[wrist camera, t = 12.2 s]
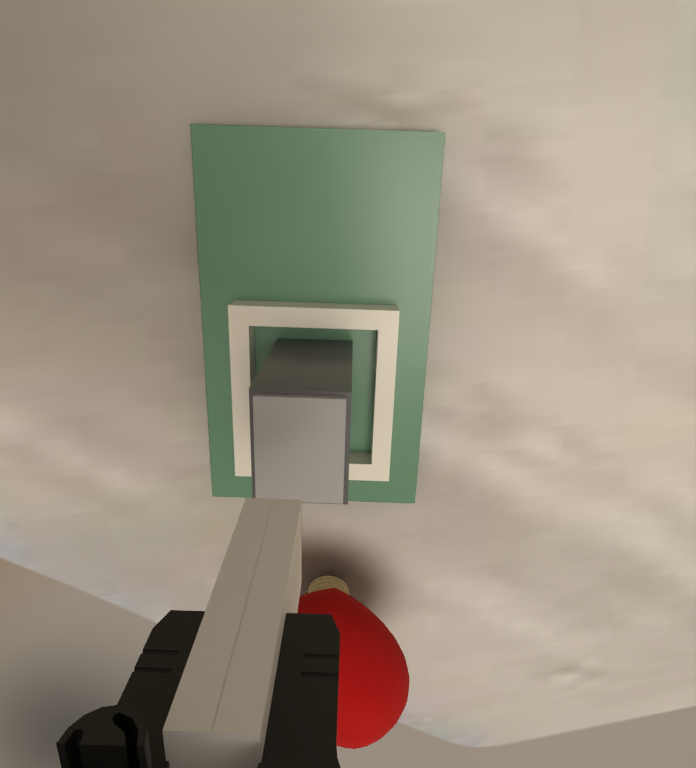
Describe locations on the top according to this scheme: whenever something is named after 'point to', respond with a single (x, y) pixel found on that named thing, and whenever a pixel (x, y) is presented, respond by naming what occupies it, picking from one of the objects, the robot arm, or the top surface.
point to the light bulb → (361, 664)
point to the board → (318, 281)
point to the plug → (302, 421)
